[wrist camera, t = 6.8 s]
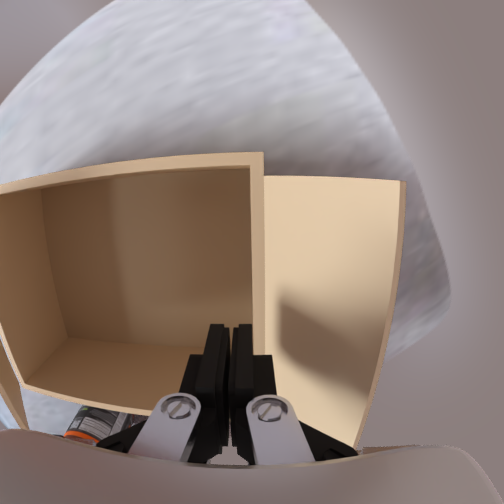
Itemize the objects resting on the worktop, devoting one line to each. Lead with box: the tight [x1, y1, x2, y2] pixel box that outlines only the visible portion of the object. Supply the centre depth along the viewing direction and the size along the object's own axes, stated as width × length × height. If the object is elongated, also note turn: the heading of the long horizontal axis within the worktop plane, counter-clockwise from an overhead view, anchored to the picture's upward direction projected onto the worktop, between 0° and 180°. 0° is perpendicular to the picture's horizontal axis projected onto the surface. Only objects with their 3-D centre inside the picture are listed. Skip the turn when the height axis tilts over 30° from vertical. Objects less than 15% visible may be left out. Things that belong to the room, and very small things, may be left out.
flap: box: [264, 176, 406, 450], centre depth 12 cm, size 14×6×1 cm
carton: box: [0, 152, 265, 416], centre depth 19 cm, size 16×20×9 cm
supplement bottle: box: [64, 405, 134, 443], centre depth 22 cm, size 6×6×11 cm
